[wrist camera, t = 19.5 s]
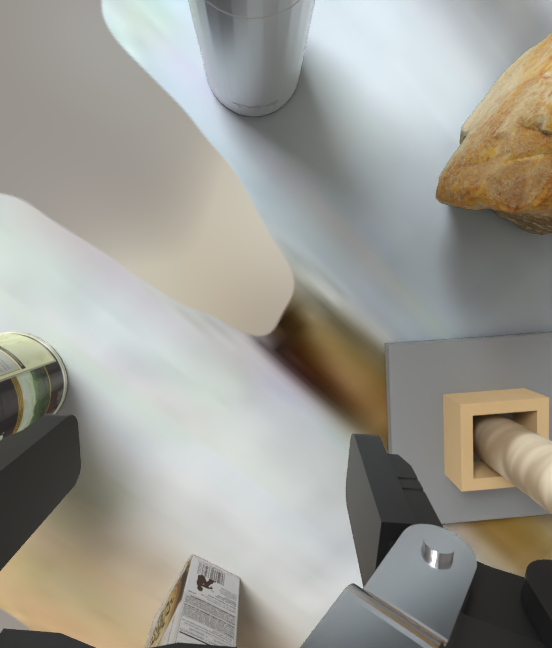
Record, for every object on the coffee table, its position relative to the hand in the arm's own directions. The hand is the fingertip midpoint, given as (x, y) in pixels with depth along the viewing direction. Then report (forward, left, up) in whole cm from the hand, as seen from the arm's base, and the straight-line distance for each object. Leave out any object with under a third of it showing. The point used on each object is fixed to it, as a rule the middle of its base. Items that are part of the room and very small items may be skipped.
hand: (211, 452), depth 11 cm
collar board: (+12, +25, -29) cm, 40 cm away
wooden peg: (+12, +25, -28) cm, 39 cm away
